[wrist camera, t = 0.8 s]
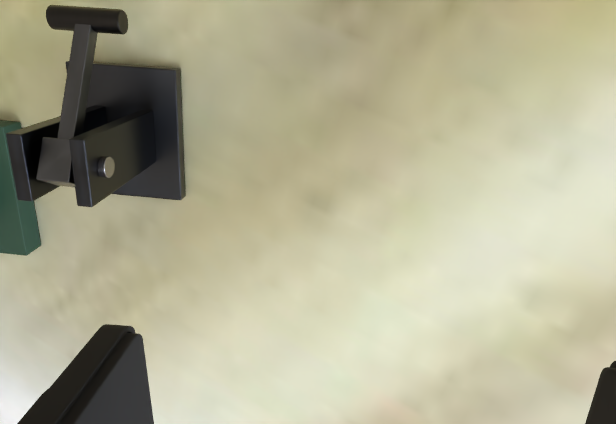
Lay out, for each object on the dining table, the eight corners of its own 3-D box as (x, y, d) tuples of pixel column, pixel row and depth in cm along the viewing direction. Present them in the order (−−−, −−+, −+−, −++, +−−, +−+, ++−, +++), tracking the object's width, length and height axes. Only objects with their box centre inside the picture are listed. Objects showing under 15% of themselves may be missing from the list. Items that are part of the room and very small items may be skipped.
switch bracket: (73, 60, 38) (-38, 74, 27) (180, 68, 38) (110, 86, 27) (88, 187, 43) (-3, 243, 32) (185, 195, 42) (126, 256, 31)
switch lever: (64, 15, 33) (43, -4, 31) (132, 20, 33) (116, 1, 31) (37, 184, 32) (14, 177, 30) (108, 190, 32) (90, 184, 29)
